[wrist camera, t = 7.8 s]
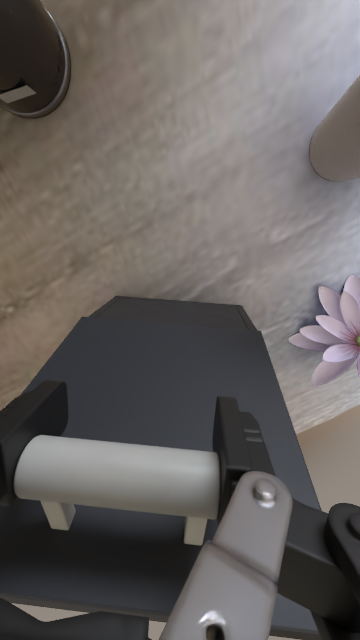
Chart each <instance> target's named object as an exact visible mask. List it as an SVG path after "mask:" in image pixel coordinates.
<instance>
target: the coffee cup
mask: <svg viewBox="0 0 360 640" xmlns="http://www.w3.org/2000/svg"><path fill="white" fill-rule="evenodd" d="M310 160H311V163H312V166H313V168H314V169H315V171H316V172H317V173H318V174H319V175H320V176H321V177H323V178H324V179H327V180H330V181H345V180H350V179H355V178H359V177H360V75H359V76H358V77H357V79H356V80H355V81H354V82H353V84H352V85H351V86H350V87H349V89H348V90H347V91H346V92H345V93H344V95H343V96H342V97H341V98H340V100H339V101H338V102H337V103H336V105H335V106H334V107H333V108H332V109H331V111H330V112H329V113H328V114H327V116H326V117H325V118H324V119H323V120H322V122H321V123H320V124H319V126H318V127H317V129H316V130H315V132H314V134H313V137H312V139H311V143H310Z"/></svg>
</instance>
